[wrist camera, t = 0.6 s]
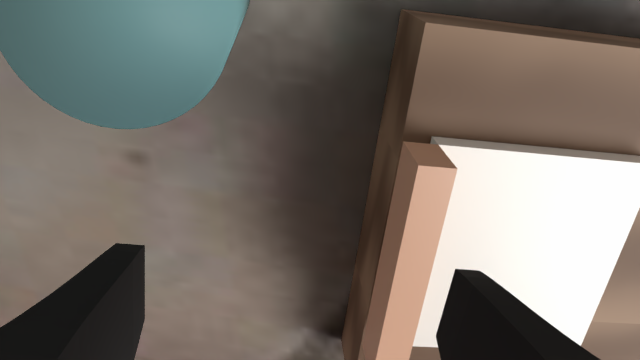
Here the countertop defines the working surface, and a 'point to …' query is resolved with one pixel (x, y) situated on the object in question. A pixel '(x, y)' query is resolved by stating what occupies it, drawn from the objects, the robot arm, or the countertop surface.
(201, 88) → the peg
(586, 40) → the socket block
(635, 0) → the countertop surface
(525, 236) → the panel
